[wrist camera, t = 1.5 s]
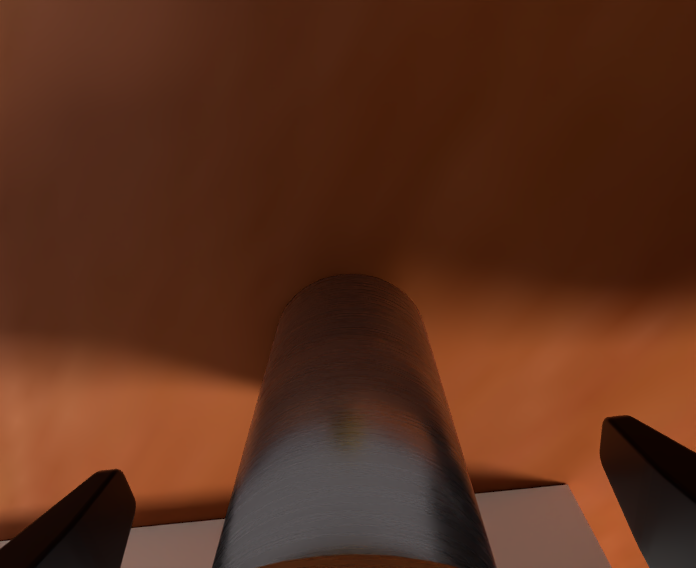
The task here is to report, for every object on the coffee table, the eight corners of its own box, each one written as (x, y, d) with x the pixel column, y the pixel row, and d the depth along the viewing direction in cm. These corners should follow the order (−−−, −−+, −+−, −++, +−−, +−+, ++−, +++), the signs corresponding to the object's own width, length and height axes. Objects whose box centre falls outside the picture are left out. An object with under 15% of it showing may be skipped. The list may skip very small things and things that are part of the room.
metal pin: (442, 239, 12) (675, 655, 3) (452, 409, 14) (611, 919, 5) (233, 266, 12) (-26, 709, 4) (275, 429, 14) (171, 941, 6)
